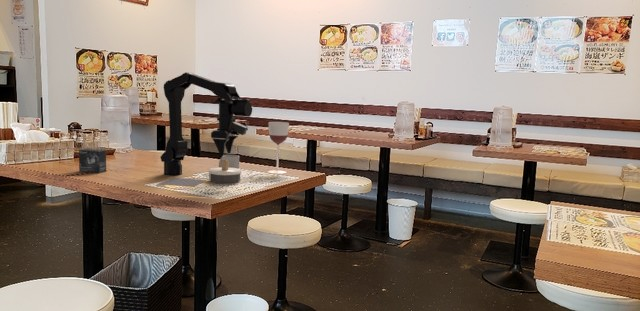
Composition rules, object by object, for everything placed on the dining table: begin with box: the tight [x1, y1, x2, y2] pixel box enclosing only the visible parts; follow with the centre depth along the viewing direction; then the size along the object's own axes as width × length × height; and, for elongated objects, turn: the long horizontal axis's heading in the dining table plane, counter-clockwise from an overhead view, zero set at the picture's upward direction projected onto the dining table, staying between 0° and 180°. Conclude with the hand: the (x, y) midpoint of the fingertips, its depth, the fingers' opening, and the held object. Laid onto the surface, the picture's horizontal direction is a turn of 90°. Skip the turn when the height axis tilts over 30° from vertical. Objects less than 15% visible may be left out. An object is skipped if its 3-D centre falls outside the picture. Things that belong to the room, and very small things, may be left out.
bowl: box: [208, 172, 242, 185], centre depth 197 cm, size 12×12×4 cm
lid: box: [207, 160, 242, 175], centre depth 197 cm, size 13×13×5 cm
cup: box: [218, 154, 240, 169], centre depth 211 cm, size 7×10×9 cm
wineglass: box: [267, 121, 290, 175], centre depth 226 cm, size 9×10×23 cm
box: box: [78, 148, 107, 174], centre depth 207 cm, size 9×6×10 cm, turn 81°
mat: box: [159, 177, 208, 188], centre depth 191 cm, size 14×14×1 cm
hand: (225, 154), depth 196 cm, fingers open, 9 cm apart
